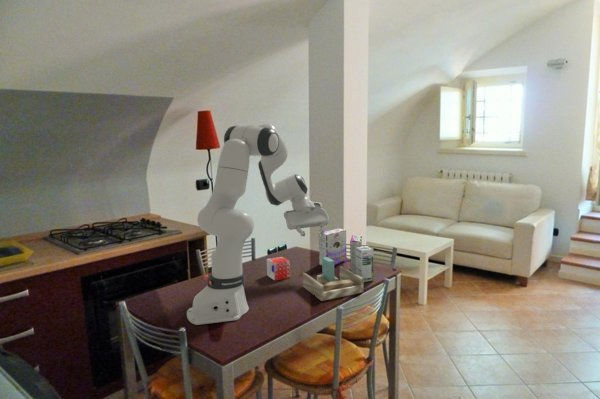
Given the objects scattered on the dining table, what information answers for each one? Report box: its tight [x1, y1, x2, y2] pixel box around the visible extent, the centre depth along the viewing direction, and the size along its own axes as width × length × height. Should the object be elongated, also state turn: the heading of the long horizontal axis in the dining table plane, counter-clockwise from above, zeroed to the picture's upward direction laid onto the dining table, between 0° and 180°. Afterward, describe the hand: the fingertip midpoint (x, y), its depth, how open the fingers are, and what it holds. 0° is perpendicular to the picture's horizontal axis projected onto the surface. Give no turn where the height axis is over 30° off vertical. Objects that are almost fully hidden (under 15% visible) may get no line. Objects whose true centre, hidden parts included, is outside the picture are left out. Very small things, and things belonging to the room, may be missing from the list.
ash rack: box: [302, 266, 364, 302], centre depth 175 cm, size 19×17×6 cm
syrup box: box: [356, 245, 374, 283], centre depth 185 cm, size 6×6×14 cm
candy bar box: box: [349, 234, 363, 274], centre depth 194 cm, size 11×5×16 cm, turn 168°
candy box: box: [318, 227, 348, 267], centre depth 208 cm, size 14×6×16 cm, turn 130°
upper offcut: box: [322, 279, 353, 292], centre depth 171 cm, size 12×4×2 cm, turn 105°
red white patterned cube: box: [266, 256, 291, 281], centre depth 192 cm, size 8×8×8 cm
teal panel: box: [321, 257, 335, 282], centre depth 178 cm, size 2×6×12 cm, turn 24°
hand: (313, 234), depth 188 cm, fingers open, 8 cm apart
